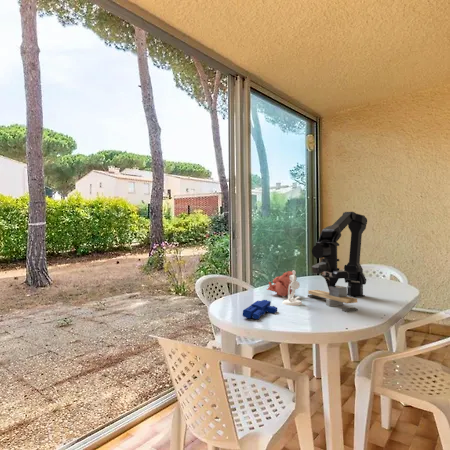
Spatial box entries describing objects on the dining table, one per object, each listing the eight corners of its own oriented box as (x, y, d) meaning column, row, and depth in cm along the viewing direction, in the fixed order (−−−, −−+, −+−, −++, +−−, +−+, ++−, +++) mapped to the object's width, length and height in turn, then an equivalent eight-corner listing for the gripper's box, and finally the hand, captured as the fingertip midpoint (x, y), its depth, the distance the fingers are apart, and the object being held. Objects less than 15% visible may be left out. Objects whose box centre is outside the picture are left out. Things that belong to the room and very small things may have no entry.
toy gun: (282, 301, 145) (260, 295, 150) (266, 313, 126) (241, 307, 130) (280, 310, 146) (258, 305, 150) (264, 324, 126) (240, 317, 130)
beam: (317, 292, 167) (317, 289, 168) (357, 302, 139) (357, 298, 139) (308, 293, 166) (308, 290, 166) (346, 303, 137) (346, 299, 137)
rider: (337, 294, 151) (336, 285, 151) (347, 296, 144) (346, 287, 145) (329, 295, 150) (329, 286, 150) (338, 297, 143) (338, 287, 143)
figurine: (302, 305, 149) (302, 271, 148) (282, 305, 150) (281, 271, 150) (301, 301, 157) (301, 268, 157) (282, 300, 159) (282, 268, 159)
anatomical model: (294, 269, 165) (264, 269, 170) (294, 295, 161) (262, 294, 166) (297, 273, 174) (268, 273, 179) (296, 298, 170) (267, 297, 175)
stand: (319, 295, 168) (319, 291, 168) (359, 310, 139) (359, 304, 139) (306, 296, 166) (306, 292, 166) (344, 312, 137) (344, 306, 137)
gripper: (303, 255, 159) (304, 288, 159) (326, 259, 141) (326, 297, 141) (324, 254, 162) (325, 286, 162) (349, 258, 144) (349, 295, 144)
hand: (330, 291), depth 152 cm, fingers closed
